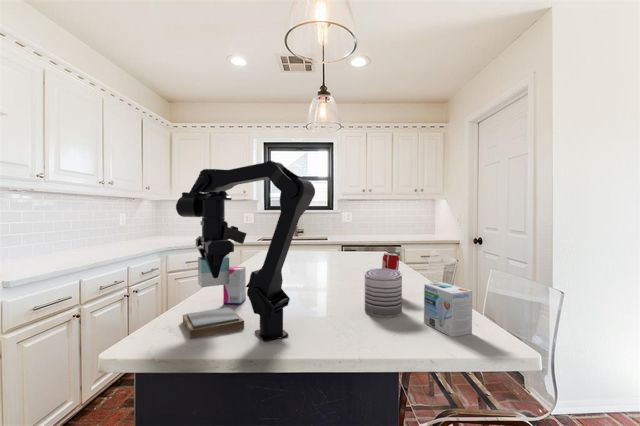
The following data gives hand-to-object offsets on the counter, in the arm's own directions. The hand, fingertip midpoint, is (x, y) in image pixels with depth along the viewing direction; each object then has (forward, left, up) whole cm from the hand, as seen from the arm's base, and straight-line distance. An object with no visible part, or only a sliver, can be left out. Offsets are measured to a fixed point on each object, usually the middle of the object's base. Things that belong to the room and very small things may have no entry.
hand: (213, 276), depth 85 cm
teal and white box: (0, 0, -2) cm, 2 cm away
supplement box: (+18, -11, -13) cm, 25 cm away
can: (-14, -47, -13) cm, 51 cm away
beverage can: (-2, -61, -13) cm, 62 cm away
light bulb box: (-33, -52, -13) cm, 63 cm away
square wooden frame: (0, 0, -13) cm, 13 cm away
